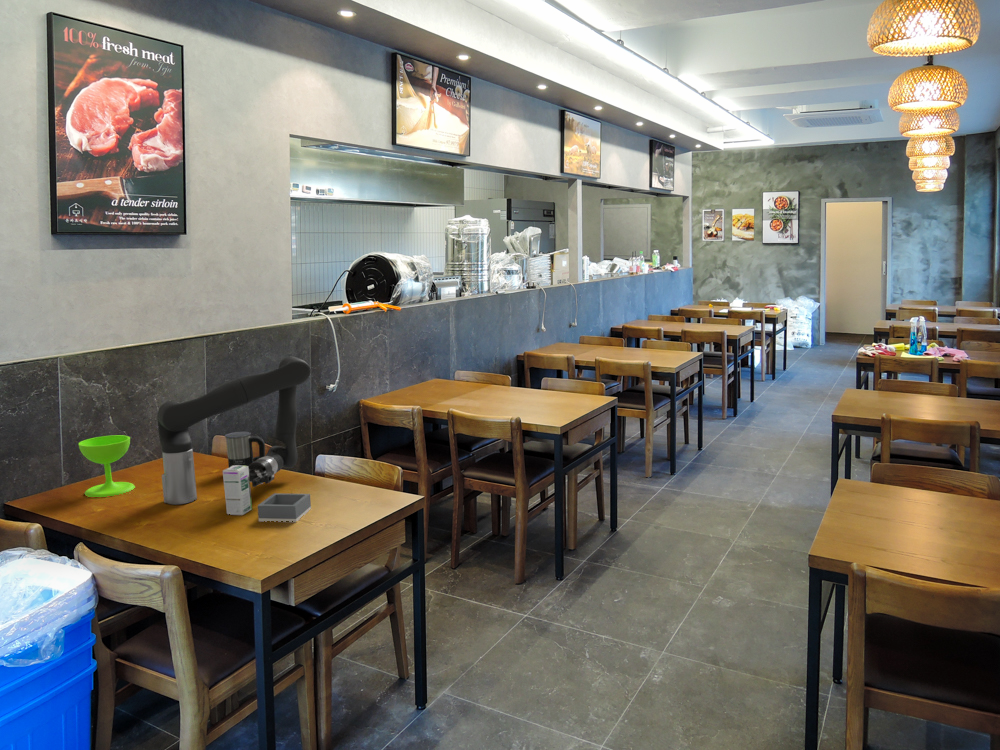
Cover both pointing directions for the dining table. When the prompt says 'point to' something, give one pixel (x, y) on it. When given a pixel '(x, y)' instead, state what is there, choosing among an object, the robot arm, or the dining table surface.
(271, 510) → the socket box
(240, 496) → the syrup box
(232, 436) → the milk frother
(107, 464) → the wineglass
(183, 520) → the dining table surface
